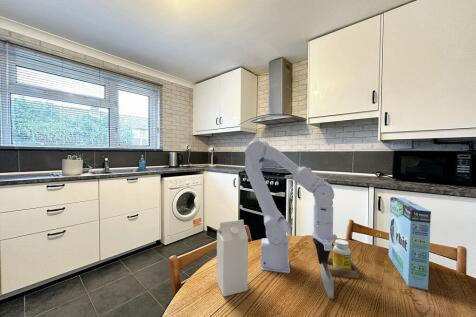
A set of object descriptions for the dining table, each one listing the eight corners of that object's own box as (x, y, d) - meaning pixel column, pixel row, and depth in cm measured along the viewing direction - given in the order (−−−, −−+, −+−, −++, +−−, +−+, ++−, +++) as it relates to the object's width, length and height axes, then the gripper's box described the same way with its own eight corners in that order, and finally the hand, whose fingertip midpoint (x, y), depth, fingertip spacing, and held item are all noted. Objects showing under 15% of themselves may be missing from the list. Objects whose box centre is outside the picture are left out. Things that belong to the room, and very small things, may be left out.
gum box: (388, 256, 76) (389, 196, 76) (404, 259, 74) (406, 198, 74) (407, 286, 59) (409, 208, 58) (430, 291, 57) (431, 210, 56)
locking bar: (328, 298, 53) (328, 279, 53) (321, 276, 63) (321, 260, 63) (333, 298, 53) (333, 280, 53) (325, 277, 62) (325, 261, 62)
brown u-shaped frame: (325, 274, 64) (325, 268, 64) (320, 261, 72) (320, 256, 72) (359, 279, 62) (359, 272, 62) (350, 265, 70) (350, 259, 70)
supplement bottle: (338, 264, 71) (338, 237, 70) (353, 271, 66) (354, 242, 66) (329, 268, 68) (329, 240, 67) (345, 276, 63) (345, 246, 63)
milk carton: (216, 281, 60) (217, 218, 60) (238, 276, 63) (239, 216, 62) (223, 297, 53) (223, 226, 53) (247, 291, 56) (248, 223, 56)
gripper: (344, 229, 55) (343, 278, 56) (330, 215, 70) (330, 253, 70) (317, 227, 57) (316, 275, 57) (309, 213, 71) (308, 251, 71)
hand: (322, 263), depth 63 cm, fingers closed
